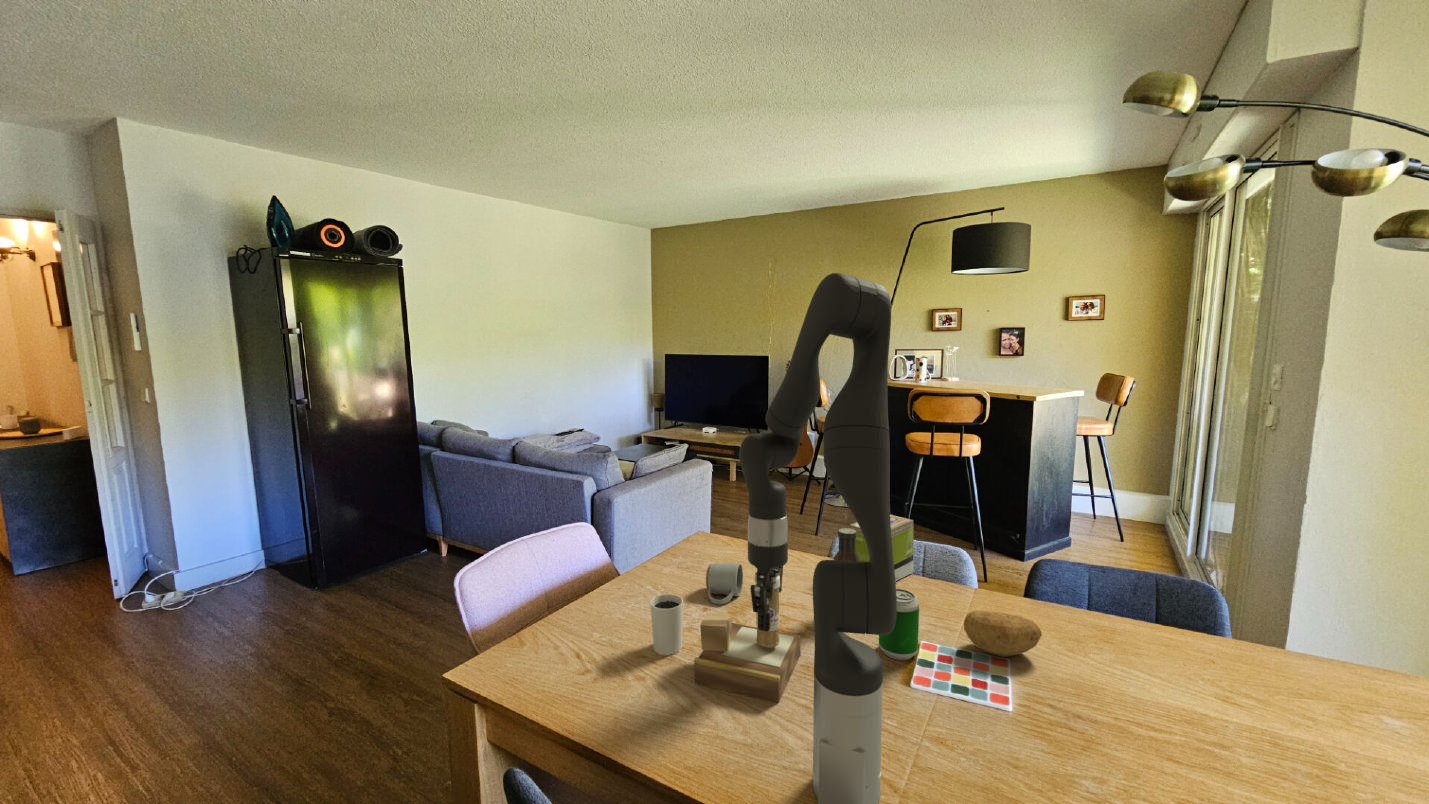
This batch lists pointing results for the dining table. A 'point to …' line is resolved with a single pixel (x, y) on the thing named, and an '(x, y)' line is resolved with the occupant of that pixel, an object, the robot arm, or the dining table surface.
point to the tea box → (900, 544)
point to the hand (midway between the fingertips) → (767, 623)
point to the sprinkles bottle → (771, 621)
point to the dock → (750, 665)
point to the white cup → (667, 623)
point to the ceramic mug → (724, 581)
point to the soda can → (903, 628)
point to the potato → (1001, 632)
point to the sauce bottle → (847, 545)
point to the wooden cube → (716, 632)
